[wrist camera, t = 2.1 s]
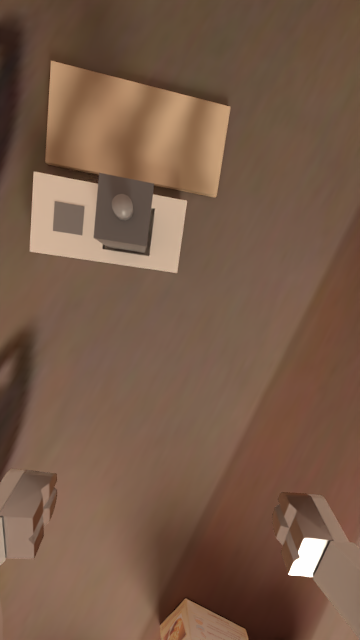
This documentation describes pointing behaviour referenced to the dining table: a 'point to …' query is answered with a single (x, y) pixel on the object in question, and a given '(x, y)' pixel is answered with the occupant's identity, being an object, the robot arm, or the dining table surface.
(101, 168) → the oak board
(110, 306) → the dining table surface
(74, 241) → the beige holder tray
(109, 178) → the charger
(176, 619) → the coffeecake box
